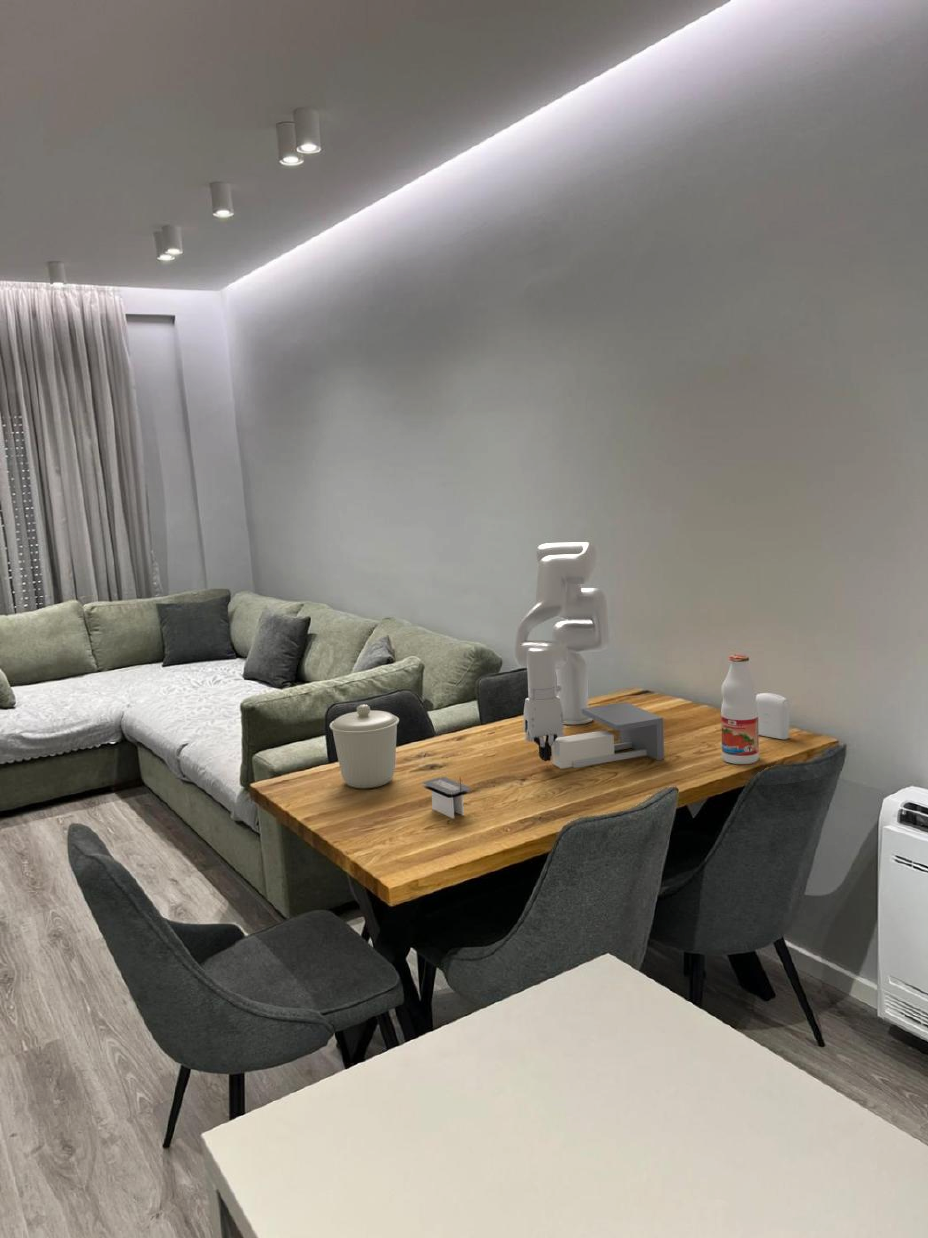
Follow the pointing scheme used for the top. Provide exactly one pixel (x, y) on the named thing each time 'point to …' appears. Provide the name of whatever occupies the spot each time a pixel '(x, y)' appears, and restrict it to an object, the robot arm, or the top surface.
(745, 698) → the fruit juice
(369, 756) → the canister
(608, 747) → the cream rectangular prism
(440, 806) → the architectural model
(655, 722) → the overhang shelf
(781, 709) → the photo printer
